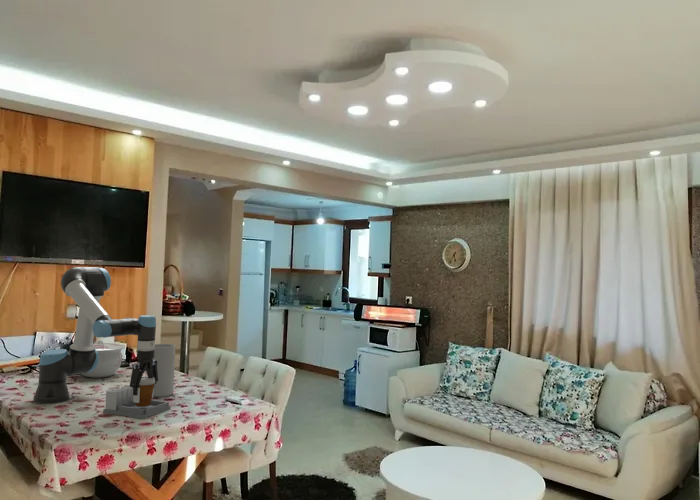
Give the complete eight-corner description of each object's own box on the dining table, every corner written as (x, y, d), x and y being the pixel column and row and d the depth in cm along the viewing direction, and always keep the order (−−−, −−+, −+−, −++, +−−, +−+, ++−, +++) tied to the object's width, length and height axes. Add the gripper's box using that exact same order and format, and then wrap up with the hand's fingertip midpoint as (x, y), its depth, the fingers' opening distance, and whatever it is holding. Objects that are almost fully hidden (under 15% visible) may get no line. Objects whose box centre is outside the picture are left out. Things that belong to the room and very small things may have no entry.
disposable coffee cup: (146, 408, 239) (148, 381, 240) (127, 406, 241) (128, 379, 242) (158, 403, 248) (159, 377, 249) (139, 401, 250) (141, 375, 251)
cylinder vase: (143, 394, 278) (145, 345, 279) (165, 390, 287) (167, 343, 288) (154, 398, 269) (157, 348, 270) (177, 395, 278) (180, 346, 279)
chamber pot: (111, 381, 305) (113, 344, 306) (63, 379, 306) (65, 342, 306) (132, 371, 333) (133, 338, 334) (87, 370, 334) (89, 336, 334)
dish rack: (170, 409, 250) (171, 388, 251) (142, 418, 233) (143, 396, 234) (132, 403, 258) (133, 383, 258) (103, 412, 241) (104, 391, 242)
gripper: (135, 353, 234) (133, 406, 234) (168, 347, 254) (165, 396, 253) (122, 352, 237) (119, 404, 236) (155, 346, 257) (152, 394, 256)
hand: (143, 400), depth 245 cm, fingers closed on disposable coffee cup, 8 cm apart
